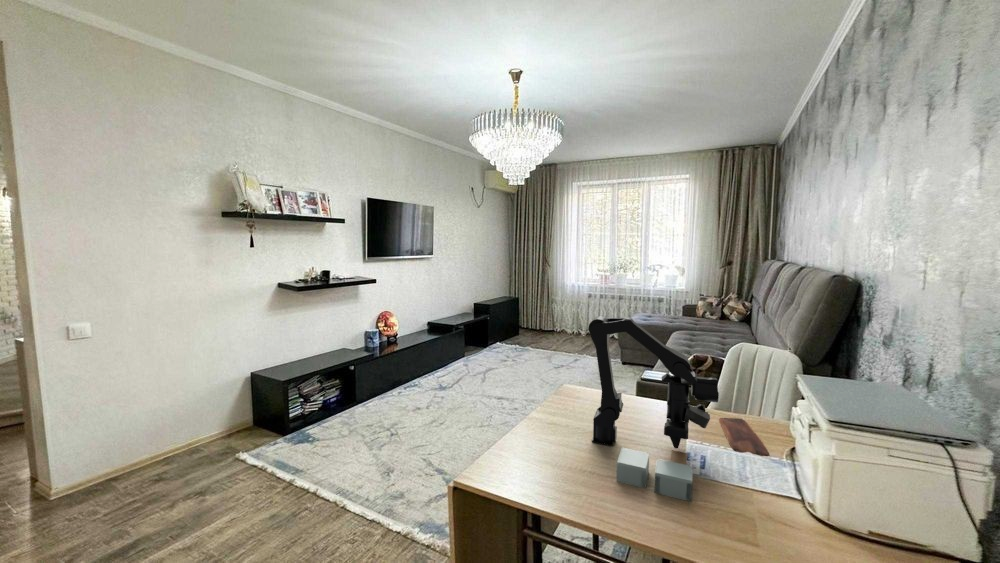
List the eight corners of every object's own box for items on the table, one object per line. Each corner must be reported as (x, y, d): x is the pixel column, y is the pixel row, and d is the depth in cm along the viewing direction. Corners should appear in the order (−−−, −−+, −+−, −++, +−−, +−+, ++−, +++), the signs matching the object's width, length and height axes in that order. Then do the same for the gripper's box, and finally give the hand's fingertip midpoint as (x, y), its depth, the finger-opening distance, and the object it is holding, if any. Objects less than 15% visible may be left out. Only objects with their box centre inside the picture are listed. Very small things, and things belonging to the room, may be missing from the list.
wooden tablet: (716, 413, 145) (747, 414, 142) (716, 419, 145) (748, 420, 142) (732, 448, 120) (770, 450, 117) (732, 455, 120) (771, 457, 117)
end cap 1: (645, 488, 102) (646, 468, 101) (616, 481, 105) (617, 462, 104) (648, 471, 109) (649, 453, 109) (621, 465, 112) (622, 447, 112)
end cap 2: (654, 492, 100) (655, 472, 99) (656, 477, 106) (657, 458, 106) (691, 501, 96) (692, 480, 96) (691, 485, 103) (692, 466, 102)
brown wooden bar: (668, 492, 101) (669, 479, 100) (671, 461, 115) (671, 449, 115) (685, 496, 99) (686, 483, 99) (686, 464, 113) (686, 453, 113)
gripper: (709, 413, 106) (707, 470, 107) (707, 391, 123) (705, 439, 124) (664, 406, 111) (662, 460, 112) (668, 385, 127) (666, 432, 129)
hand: (676, 447), depth 119 cm, fingers closed
